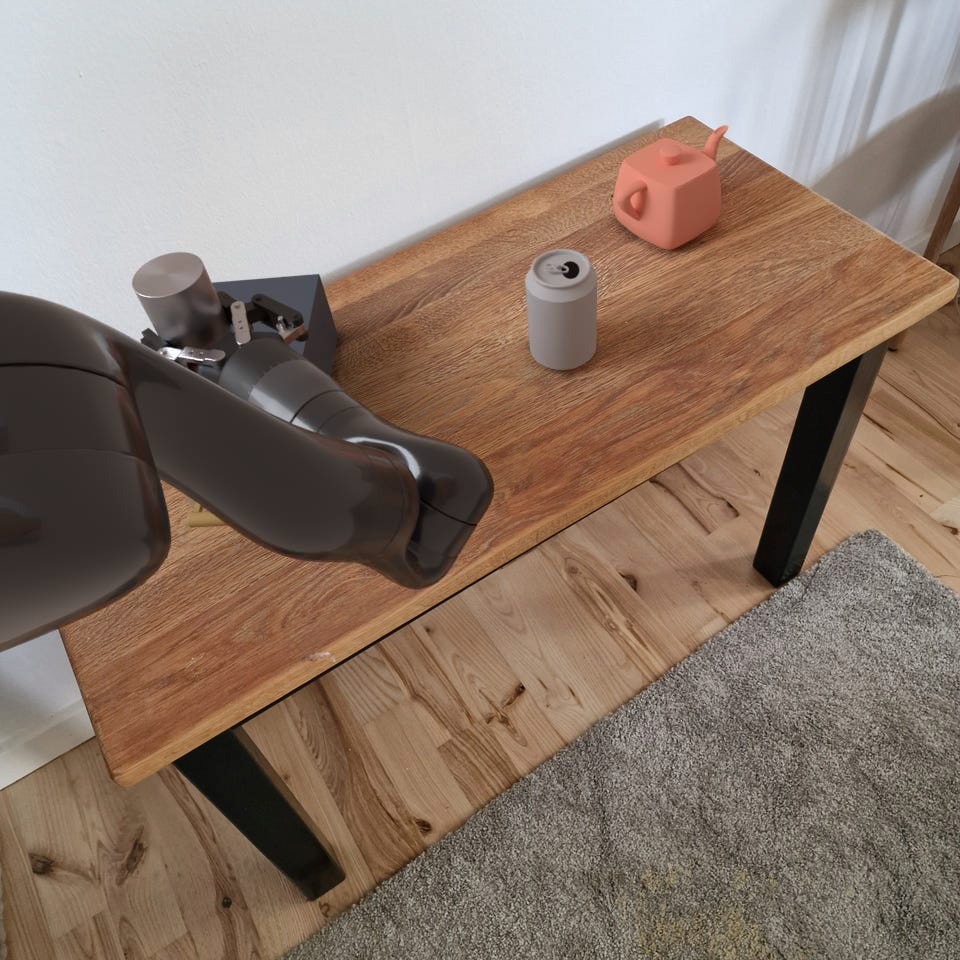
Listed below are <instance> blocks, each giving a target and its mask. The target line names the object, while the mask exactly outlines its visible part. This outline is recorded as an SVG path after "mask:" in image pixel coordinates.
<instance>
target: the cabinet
mask: <svg viewBox="0 0 960 960" xmlns="http://www.w3.org/2000/svg"><path fill="white" fill-rule="evenodd" d="M211 282H212V284H213V286H214V289H215V291H216V292H219V291H223V292H225V293H227V294H228V295H230V296H231V297H232V298H234V299H235V300H236V301H242V302H243V303H248V302H251V298H252V297H253V296H254V295H256V294H263V295H265V296H267V297H270V298H272V299H274V300H276V301H278V302H280V303H282V304H284V305H286V306H288V307H290V308H292V309H294V310H296V311H298V312H300V313H301V314H302V317H303V320H304V322H305V325H306V328H307V331H308V334H309V338H308V339H307V340H306V341H304V342H298V341H296V340H294V341H293V342H292V343H290V344H289V345H288V346H290V347H291V348H292V349H294V350H295V351H296V352H298V353H299V354H301V355H302V356H303V357H305V358H306V359H307V360H309V361H310V362H311V363H313V364H314V365H315V366H317V367H318V368H320V369H321V370H322V371H324V372H325V373H326V374H328V375H329V376H331V377H332V375H333V369H334V364H335V363H334V362H335V357H336V351H337V345H338V339H339V333H338V330H337V327H336V324H335V320H334V317H333V314H332V309H331V308H330V307H331V306H330V304H329V301H328V298H327V295H326V291H325V288H324V285H323V282H322V279H321V274H320V273H313V274H300V275H288V276H277V277H276V276H274V277H264V278H250V279H240V280H239V279H238V280H228V281H227V280H226V281H214V282H213V281H211ZM230 325H231V324H230ZM231 327H232V329H233V331H234V326H232V325H231ZM253 328H254V332H275V333H278V331H276V330H274V329H272V328H270V327H269V326H267V325H265V324H263V323H261V322H260V321H258V322H256V323H253ZM234 333H235V331H234Z"/></svg>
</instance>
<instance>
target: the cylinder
mask: <svg viewBox="0 0 960 960" xmlns="http://www.w3.org/2000/svg"><path fill="white" fill-rule="evenodd" d="M208 273H209V272H208V271H207V269H206V267H205V264H204V262H203V260H202V259H201V258H200V257H199V256H198V255H197V254H194V253H190V252H186V251H176V252H169V253H165V254H162V255H159V256H157V257H155V258H152V259H151V260H149V261H147V262H145V263H144V264H143V265H141V267H139V268H138V269H137V271H136V272H135V273H134V275H133V277H132V280H131V287H132V290H133V292H134V293H135V296H136V298H137V299H138V301H139V303H140V304H141V306H142V309H143V310H144V312H145V314H146V315H147V317H148V319H149V321H150V323H151V325H152V327H153V328H154V330H155V333H156V334H157V335H158V336H159V337H160V338H161V339H163V340H164V341H165V342H166V343H168V345H169V347H170V348H175V349H181V350H183V348H184V347H192V348H198V349H205V348H206V347H208V346H210V345H212V344H214V343H217V342H218V341H219V340H220V339H221V338H222V337H224V336H225V335H227V334H228V333H230V332H232V333H234V331H233V329H232V327H231V325H230V322H229V320H228V318H227V316H226V313H225V311H224V309H223V307H222V304H221V302H220V300H219V298H218V295H217V293H216V291H215V289H214V286H213V284H212V282H213V281H212V280H211V278H210V275H209V274H208Z"/></svg>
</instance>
